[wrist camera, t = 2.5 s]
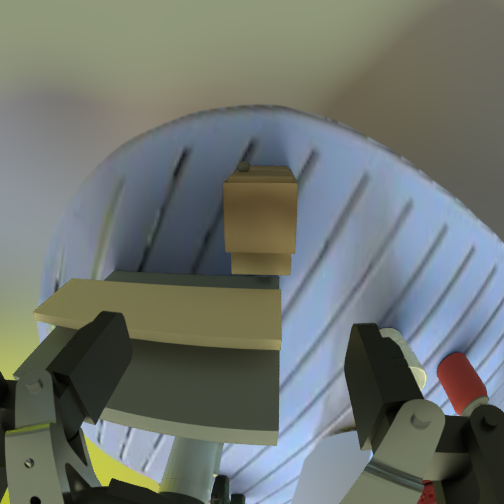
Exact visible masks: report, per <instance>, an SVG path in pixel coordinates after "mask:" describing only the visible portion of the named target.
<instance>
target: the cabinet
mask: <svg viewBox="0 0 504 504" xmlns="http://www.w3.org/2000/svg"><path fill="white" fill-rule="evenodd" d="M297 194H298V183H297V181H296V179H295V177H294V175H293V173H292V171H291V169H288V167H287V166H250V165H249V163H248V162H246V161H242V162H240V163H239V164H238V170H237V171H235V172H234V173H233V174H232V175H231V176H229V178H228V179H227V180H226V181H224V182H223V203H224V235H225V252H231V272H232V274H253V275H290V270H291V254H295V245H296V222H297Z"/></svg>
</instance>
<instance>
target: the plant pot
mask: <svg viewBox="0 0 504 504" xmlns="http://www.w3.org/2000/svg"><path fill="white" fill-rule="evenodd" d="M422 484H424V489H423V492H422V494H421V496H420V498H419V500H418V502H417V504H437V502H436V497H435V492H434V487H433V482H432V480H423V481H422ZM423 501H424V502H423Z"/></svg>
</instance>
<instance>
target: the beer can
mask: <svg viewBox="0 0 504 504" xmlns="http://www.w3.org/2000/svg"><path fill="white" fill-rule="evenodd" d="M437 376H438V378H439V380H440V382H441V384H442V386H443V388H444V390H445V392H446V394H447V396H448V398H449V400H450V402H451V404H452V406H453V408H454V410H455V412H456V413H457V414H458V415H460V416H464V417H469V416H470V414H471V413H472V411H473V410H474V409H475V408H476V407H478V406H480V405H484V404H487V403H488V400H489V398H488V396H487V390H486V387H485V385H484V384H483V382H482V380H481V379H480V377H479V376H478V374H477V373H476V371H475V370H474V368H473V367H472V365H471V364H470V362H469V361H468V359H467V358H466V356H465V355H464V354H463V353H459V352H457V353H453V354H451V355H449V356H447V357H446V358H445V359H444V360H443V361H442V362H441V363H440V365H439V366H438V369H437Z"/></svg>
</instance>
